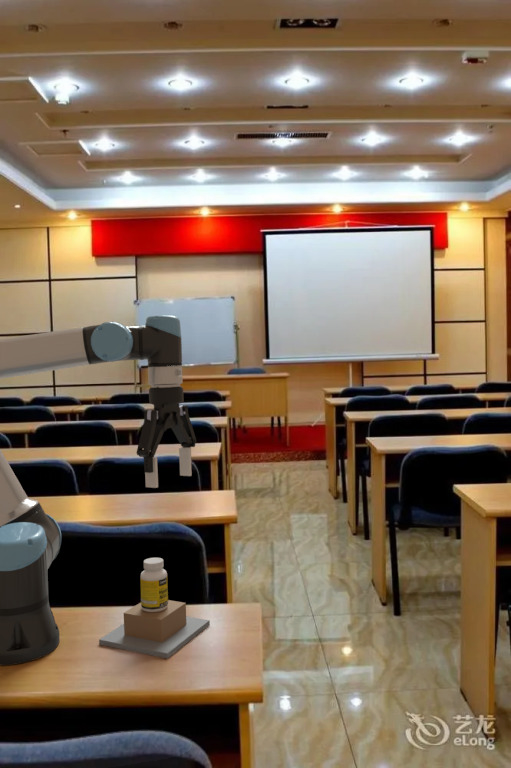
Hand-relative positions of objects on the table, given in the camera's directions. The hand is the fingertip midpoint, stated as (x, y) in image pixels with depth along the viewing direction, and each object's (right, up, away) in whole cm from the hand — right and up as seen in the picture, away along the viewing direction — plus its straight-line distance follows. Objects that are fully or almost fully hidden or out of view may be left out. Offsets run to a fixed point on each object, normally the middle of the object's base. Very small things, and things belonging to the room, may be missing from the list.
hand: (169, 481), depth 142 cm
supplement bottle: (-1, -24, -12) cm, 27 cm away
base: (-1, -29, -12) cm, 32 cm away
